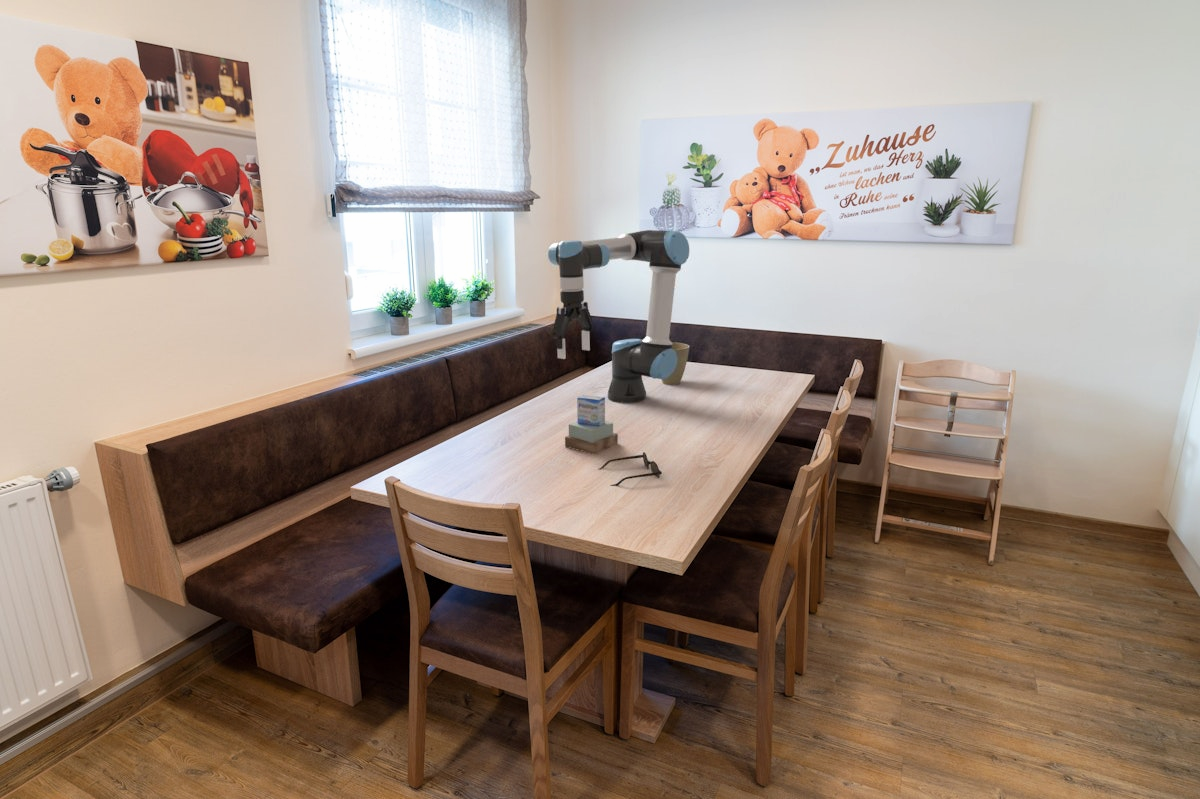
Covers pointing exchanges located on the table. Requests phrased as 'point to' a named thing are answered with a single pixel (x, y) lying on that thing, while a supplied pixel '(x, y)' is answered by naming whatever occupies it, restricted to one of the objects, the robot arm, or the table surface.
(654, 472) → the eyeglasses
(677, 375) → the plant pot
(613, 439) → the walnut slab
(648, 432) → the table surface
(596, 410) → the medicine box
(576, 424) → the sage slab
